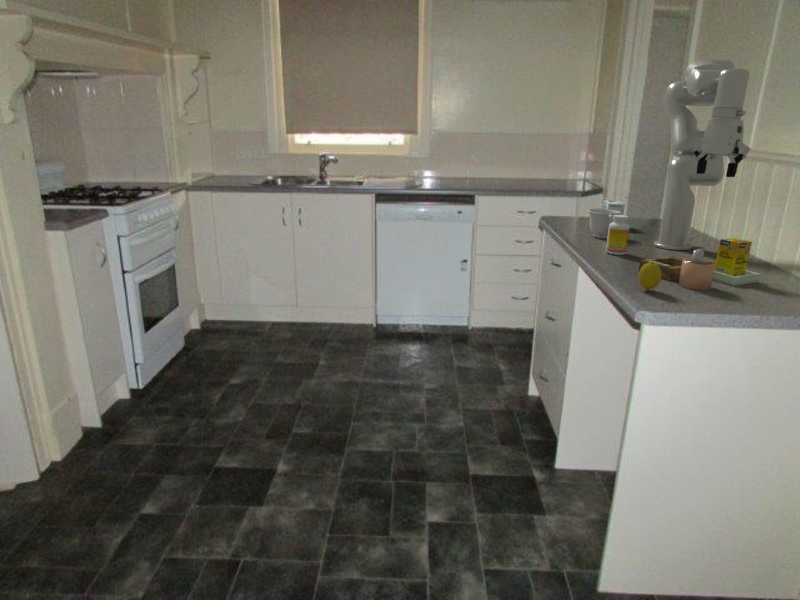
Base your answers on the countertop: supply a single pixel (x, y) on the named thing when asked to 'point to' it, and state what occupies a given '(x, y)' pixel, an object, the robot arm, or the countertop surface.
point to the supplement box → (732, 256)
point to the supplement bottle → (618, 235)
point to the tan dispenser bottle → (696, 272)
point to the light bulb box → (614, 206)
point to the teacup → (601, 221)
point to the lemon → (649, 275)
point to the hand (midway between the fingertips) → (715, 175)
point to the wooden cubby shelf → (666, 266)
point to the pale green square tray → (736, 278)
